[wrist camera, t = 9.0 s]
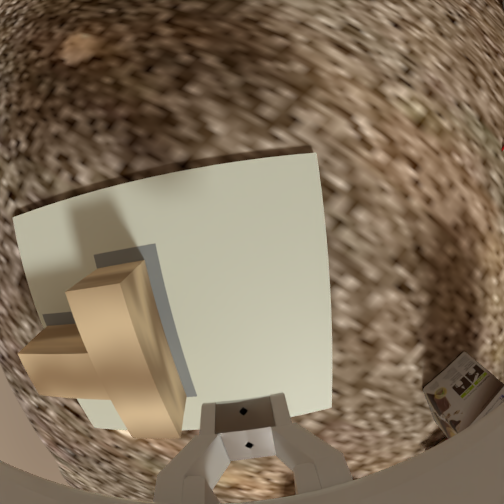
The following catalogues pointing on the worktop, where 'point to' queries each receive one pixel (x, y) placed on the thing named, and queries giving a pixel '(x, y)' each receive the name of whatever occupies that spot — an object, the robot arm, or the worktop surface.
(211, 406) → the robot arm
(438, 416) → the coffee box
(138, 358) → the maple T block
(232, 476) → the worktop surface
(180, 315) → the sage board
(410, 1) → the worktop surface
